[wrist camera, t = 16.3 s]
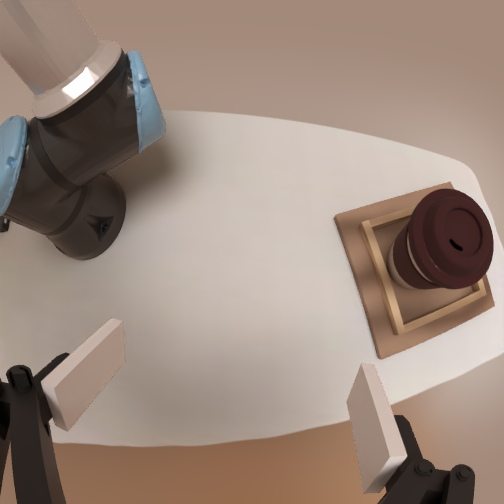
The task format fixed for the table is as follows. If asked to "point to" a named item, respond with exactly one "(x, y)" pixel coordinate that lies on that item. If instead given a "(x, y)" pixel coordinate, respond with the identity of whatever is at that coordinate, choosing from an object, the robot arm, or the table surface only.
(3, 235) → the table surface
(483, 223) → the coffee cup
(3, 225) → the disk drive
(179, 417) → the table surface
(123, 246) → the table surface
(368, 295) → the cup rack
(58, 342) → the table surface
